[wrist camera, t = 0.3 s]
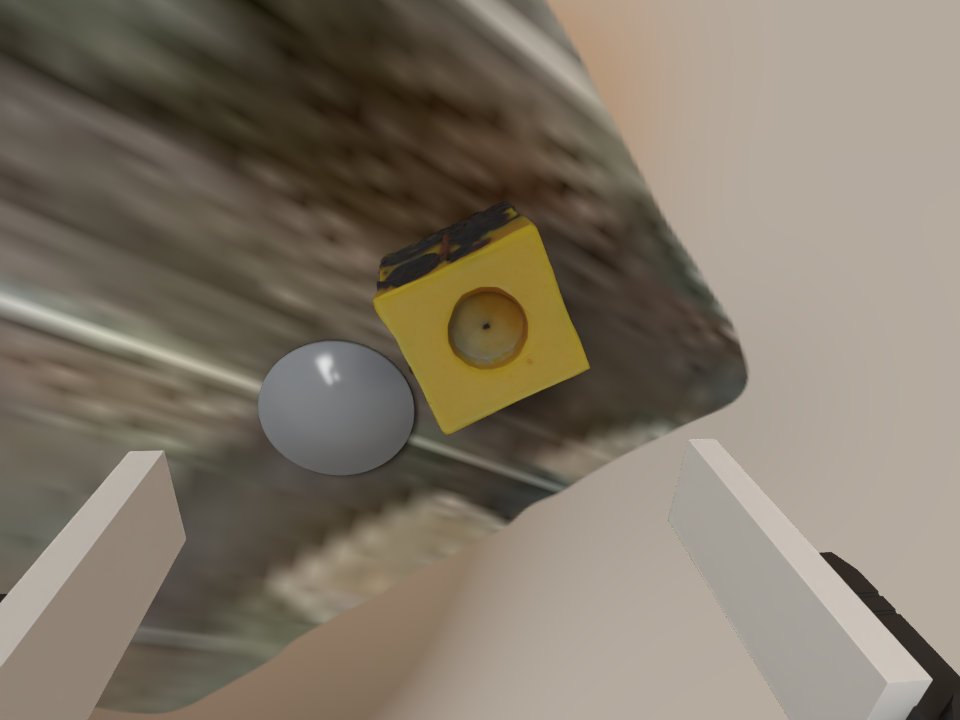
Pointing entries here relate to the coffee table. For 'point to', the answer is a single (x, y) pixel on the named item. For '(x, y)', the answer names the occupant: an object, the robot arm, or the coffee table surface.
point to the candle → (479, 316)
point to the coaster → (336, 407)
